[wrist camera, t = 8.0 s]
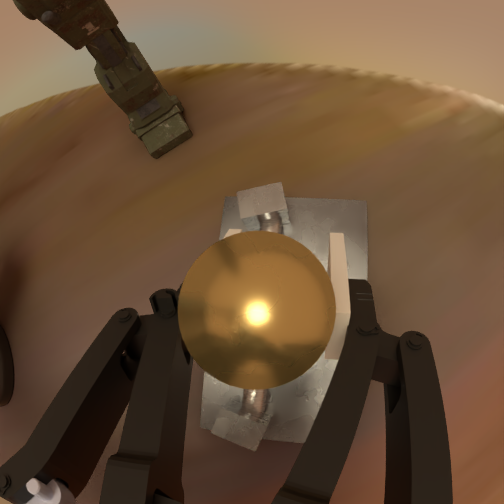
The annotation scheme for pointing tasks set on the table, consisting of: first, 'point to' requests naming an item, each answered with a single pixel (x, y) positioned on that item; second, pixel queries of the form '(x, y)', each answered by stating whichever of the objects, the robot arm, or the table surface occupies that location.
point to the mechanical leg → (116, 68)
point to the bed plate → (320, 374)
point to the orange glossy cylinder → (256, 310)
